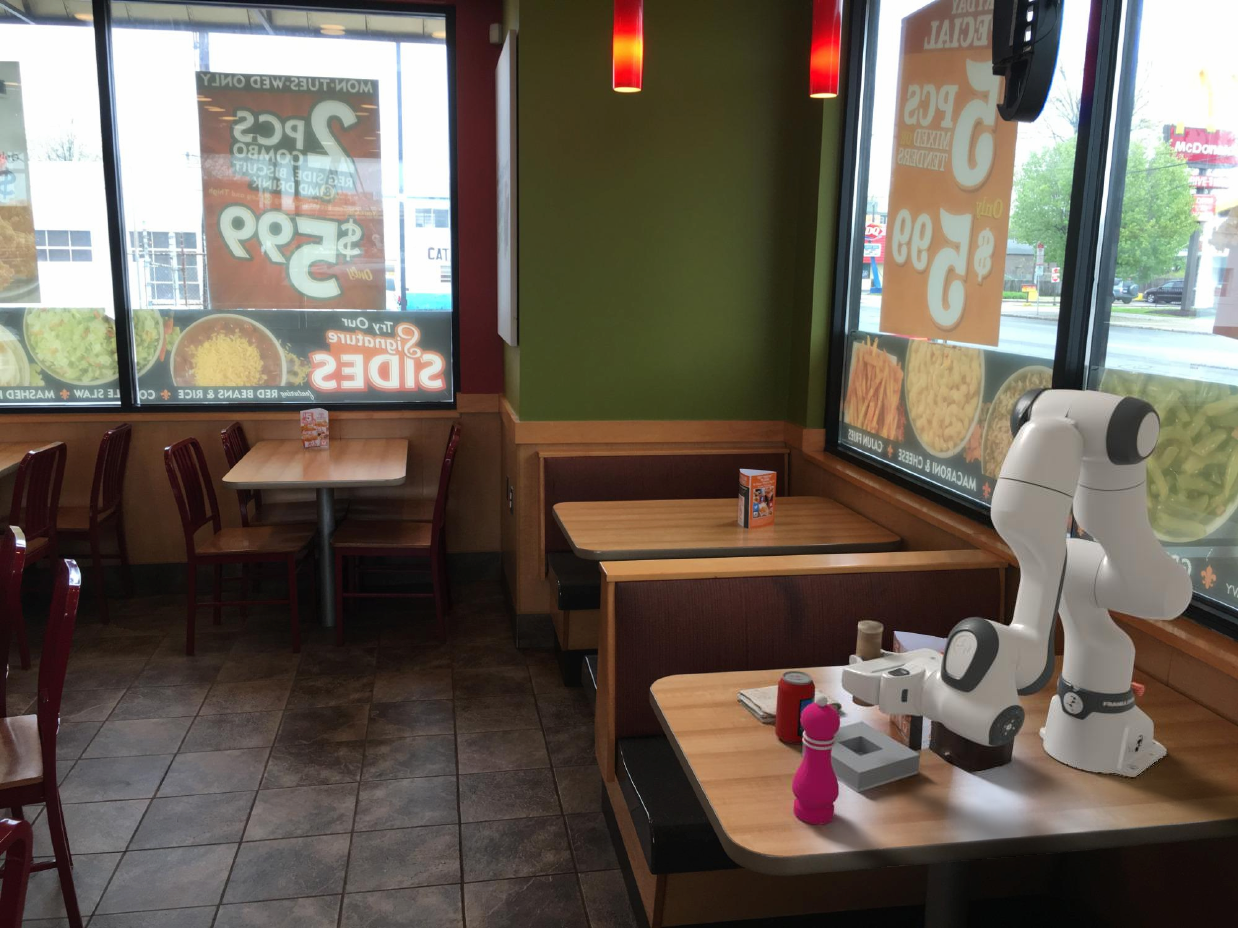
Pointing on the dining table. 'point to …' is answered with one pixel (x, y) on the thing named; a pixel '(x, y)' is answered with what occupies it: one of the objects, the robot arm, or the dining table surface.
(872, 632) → the dowel
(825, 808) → the pepper mill
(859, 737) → the hole block
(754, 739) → the dining table surface
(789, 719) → the beverage can
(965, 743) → the manual coffee grinder
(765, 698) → the washcloth
